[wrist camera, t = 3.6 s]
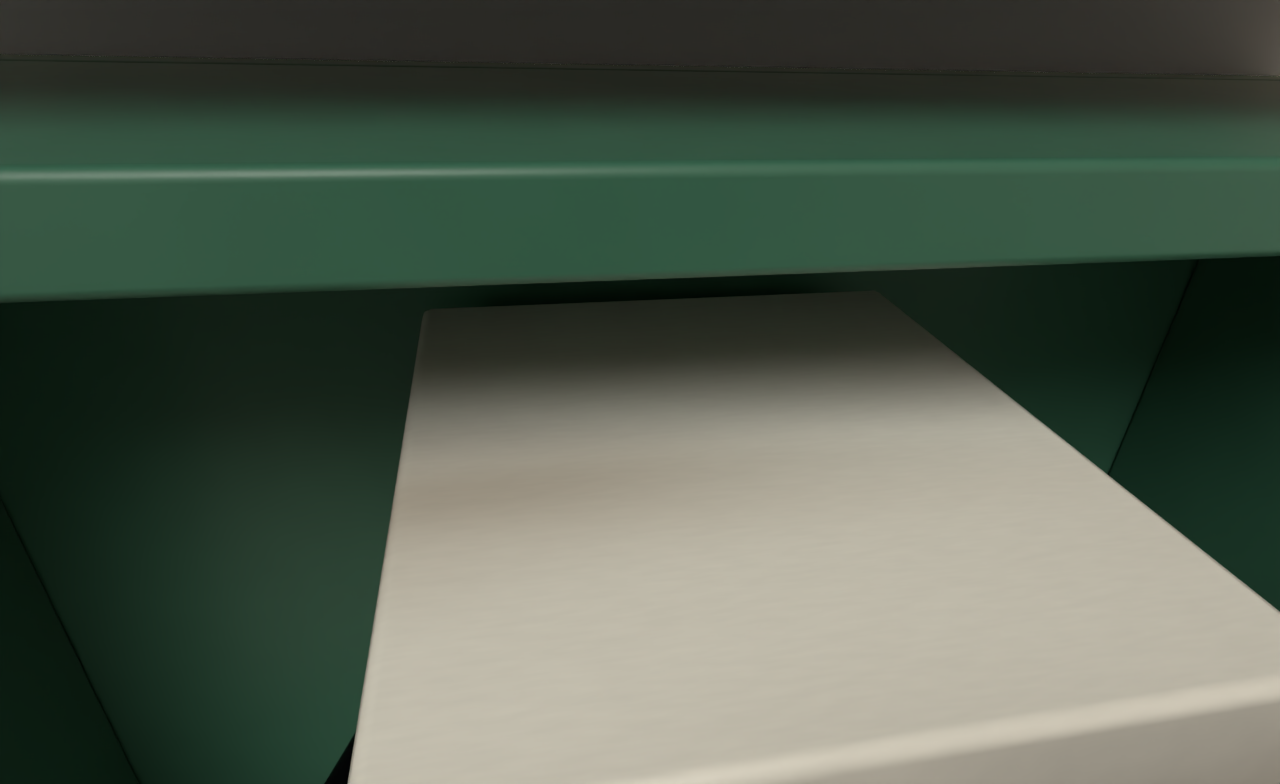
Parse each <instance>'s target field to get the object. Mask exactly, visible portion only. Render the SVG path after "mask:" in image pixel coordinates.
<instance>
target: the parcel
mask: <svg viewBox="0 0 1280 784" xmlns="http://www.w3.org/2000/svg"><path fill="white" fill-rule="evenodd" d="M347 784H1280V611H1278V610H1277V609H1276V608H1275V607H1273V606H1272V605H1271V604H1270V603H1268V602H1267V601H1266V600H1265V599H1263V598H1262V597H1261V596H1260V595H1258V594H1257V593H1256V592H1255V591H1253V590H1252V589H1251V588H1250V587H1248V586H1247V585H1246V584H1245V583H1243V582H1242V581H1241V580H1239V579H1238V578H1237V577H1236V576H1234V575H1233V574H1232V573H1231V572H1229V571H1228V570H1227V569H1226V568H1224V567H1223V566H1222V565H1221V564H1219V563H1218V562H1217V561H1216V560H1214V559H1213V558H1212V557H1211V556H1209V555H1208V554H1207V553H1206V552H1204V551H1203V550H1202V549H1201V548H1199V547H1198V546H1197V545H1195V544H1194V543H1193V542H1192V541H1190V540H1189V539H1188V538H1187V537H1185V536H1184V535H1183V534H1182V533H1180V532H1179V531H1178V530H1177V529H1175V528H1174V527H1173V526H1172V525H1170V524H1169V523H1168V522H1167V521H1165V520H1164V519H1163V518H1162V517H1160V516H1159V515H1158V514H1157V513H1155V512H1154V511H1153V510H1151V509H1150V508H1149V507H1148V506H1146V505H1145V504H1144V503H1143V502H1141V501H1140V500H1139V499H1138V498H1136V497H1135V496H1134V495H1133V494H1131V493H1130V492H1129V491H1128V490H1126V489H1125V488H1124V487H1123V486H1121V485H1120V484H1119V483H1118V482H1116V481H1115V480H1114V479H1113V478H1111V477H1110V476H1109V475H1107V474H1106V473H1105V472H1104V471H1102V470H1101V469H1100V468H1099V467H1097V466H1096V465H1095V464H1094V463H1092V462H1091V461H1090V460H1089V459H1087V458H1086V457H1085V456H1084V455H1082V454H1081V453H1080V452H1079V451H1077V450H1076V449H1075V448H1074V447H1072V446H1071V445H1070V444H1068V443H1067V442H1066V441H1065V440H1063V439H1062V438H1061V437H1060V436H1058V435H1057V434H1056V433H1055V432H1053V431H1052V430H1051V429H1050V428H1048V427H1047V426H1046V425H1045V424H1043V423H1042V422H1041V421H1040V420H1038V419H1037V418H1036V417H1035V416H1033V415H1032V414H1031V413H1030V412H1028V411H1027V410H1026V409H1024V408H1023V407H1022V406H1021V405H1019V404H1018V403H1017V402H1016V401H1014V400H1013V399H1012V398H1011V397H1009V396H1008V395H1007V394H1006V393H1004V392H1003V391H1002V390H1001V389H999V388H998V387H997V386H996V385H994V384H993V383H992V382H991V381H989V380H988V379H987V378H986V377H984V376H983V375H982V374H980V373H979V372H978V371H977V370H975V369H974V368H973V367H972V366H970V365H969V364H968V363H967V362H965V361H964V360H963V359H962V358H960V357H959V356H958V355H957V354H955V353H954V352H953V351H952V350H950V349H949V348H948V347H947V346H945V345H944V344H943V343H942V342H940V341H939V340H938V339H936V338H935V337H934V336H933V335H931V334H930V333H929V332H928V331H926V330H925V329H924V328H923V327H921V326H920V325H919V324H918V323H916V322H915V321H914V320H913V319H911V318H910V317H909V316H908V315H906V314H905V313H904V312H903V311H901V310H900V309H899V308H898V307H896V306H895V305H894V304H892V303H891V302H890V301H889V300H887V299H886V298H885V297H884V296H882V295H881V294H880V293H878V292H876V291H854V292H830V293H806V294H782V295H757V296H733V297H709V298H685V299H661V300H637V301H613V302H589V303H565V304H541V305H517V306H493V307H469V308H445V309H430V310H428V311H426V312H424V315H423V318H422V323H421V330H420V336H419V342H418V348H417V355H416V361H415V367H414V373H413V379H412V386H411V392H410V398H409V404H408V410H407V417H406V423H405V429H404V435H403V441H402V448H401V454H400V460H399V466H398V473H397V479H396V485H395V491H394V497H393V504H392V510H391V516H390V522H389V528H388V535H387V541H386V547H385V553H384V559H383V566H382V572H381V578H380V584H379V591H378V597H377V603H376V609H375V615H374V622H373V628H372V634H371V640H370V646H369V653H368V659H367V665H366V671H365V677H364V684H363V690H362V696H361V702H360V709H359V715H358V721H357V727H356V733H355V740H354V746H353V752H352V758H351V764H350V771H349V777H348V783H347Z"/></svg>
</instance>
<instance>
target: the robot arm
mask: <svg viewBox="0 0 1280 784" xmlns="http://www.w3.org/2000/svg"><path fill="white" fill-rule="evenodd" d="M355 733H356V732H355ZM355 733H354V735H353V737H352V738H351V740H350V742H349V743H348V745H347V747H346V748H345V750H344V752H343V753H342V755H341V757H340V758H339V760H338V762H337V763H336V765H335V767H334V768H333V770H332V771H331V773H330V775H329V776H328V778H327V780H326V781H325V783H324V784H347V783H348V777H349V771H350V764H351V758H352V752H353V746H354V740H355Z"/></svg>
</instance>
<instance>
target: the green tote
mask: <svg viewBox="0 0 1280 784" xmlns="http://www.w3.org/2000/svg"><path fill="white" fill-rule="evenodd" d="M854 291H876V292H878V293H880V294H881V295H882V296H884V297H885V298H886V299H887V300H889V301H890V302H891V303H892V304H894V305H895V306H896V307H898V308H899V309H900V310H901V311H903V312H904V313H905V314H906V315H908V316H909V317H910V318H911V319H913V320H914V321H915V322H916V323H918V324H919V325H920V326H921V327H923V328H924V329H925V330H926V331H928V332H929V333H930V334H931V335H933V336H934V337H935V338H936V339H938V340H939V341H940V342H942V343H943V344H944V345H945V346H947V347H948V348H949V349H950V350H952V351H953V352H954V353H955V354H957V355H958V356H959V357H960V358H962V359H963V360H964V361H965V362H967V363H968V364H969V365H970V366H972V367H973V368H974V369H975V370H977V371H978V372H979V373H980V374H982V375H983V376H984V377H986V378H987V379H988V380H989V381H991V382H992V383H993V384H994V385H996V386H997V387H998V388H999V389H1001V390H1002V391H1003V392H1004V393H1006V394H1007V395H1008V396H1009V397H1011V398H1012V399H1013V400H1014V401H1016V402H1017V403H1018V404H1019V405H1021V406H1022V407H1023V408H1024V409H1026V410H1027V411H1028V412H1030V413H1031V414H1032V415H1033V416H1035V417H1036V418H1037V419H1038V420H1040V421H1041V422H1042V423H1043V424H1045V425H1046V426H1047V427H1048V428H1050V429H1051V430H1052V431H1053V432H1055V433H1056V434H1057V435H1058V436H1060V437H1061V438H1062V439H1063V440H1065V441H1066V442H1067V443H1068V444H1070V445H1071V446H1072V447H1074V448H1075V449H1076V450H1077V451H1079V452H1080V453H1081V454H1082V455H1084V456H1085V457H1086V458H1087V459H1089V460H1090V461H1091V462H1092V463H1094V464H1095V465H1096V466H1097V467H1099V468H1100V469H1101V470H1102V471H1104V472H1105V473H1106V474H1107V475H1109V476H1110V477H1111V478H1113V479H1114V480H1115V481H1116V482H1118V483H1119V484H1120V485H1121V486H1123V487H1124V488H1125V489H1126V490H1128V491H1129V492H1130V493H1131V494H1133V495H1134V496H1135V497H1136V498H1138V499H1139V500H1140V501H1141V502H1143V503H1144V504H1145V505H1146V506H1148V507H1149V508H1150V509H1151V510H1153V511H1154V512H1155V513H1157V514H1158V515H1159V516H1160V517H1162V518H1163V519H1164V520H1165V521H1167V522H1168V523H1169V524H1170V525H1172V526H1173V527H1174V528H1175V529H1177V530H1178V531H1179V532H1180V533H1182V534H1183V535H1184V536H1185V537H1187V538H1188V539H1189V540H1190V541H1192V542H1193V543H1194V544H1195V545H1197V546H1198V547H1199V548H1201V549H1202V550H1203V551H1204V552H1206V553H1207V554H1208V555H1209V556H1211V557H1212V558H1213V559H1214V560H1216V561H1217V562H1218V563H1219V564H1221V565H1222V566H1223V567H1224V568H1226V569H1227V570H1228V571H1229V572H1231V573H1232V574H1233V575H1234V576H1236V577H1237V578H1238V579H1239V580H1241V581H1242V582H1243V583H1245V584H1246V585H1247V586H1248V587H1250V588H1251V589H1252V590H1253V591H1255V592H1256V593H1257V594H1258V595H1260V596H1261V597H1262V598H1263V599H1265V600H1266V601H1267V602H1268V603H1270V604H1271V605H1272V606H1273V607H1275V608H1276V609H1277V610H1278V611H1280V76H1254V75H1195V74H1136V73H1078V72H1019V71H960V70H902V69H843V68H784V67H726V66H667V65H608V64H550V63H491V62H432V61H374V60H315V59H256V58H198V57H139V56H80V55H22V54H0V784H324V783H325V781H326V780H327V778H328V776H329V775H330V773H331V771H332V770H333V768H334V767H335V765H336V763H337V762H338V760H339V758H340V757H341V755H342V753H343V752H344V750H345V748H346V747H347V745H348V743H349V742H350V740H351V738H352V737H353V735H354V733H355V732H356V727H357V721H358V715H359V709H360V702H361V696H362V690H363V684H364V677H365V671H366V665H367V659H368V653H369V646H370V640H371V634H372V628H373V622H374V615H375V609H376V603H377V597H378V591H379V584H380V578H381V572H382V566H383V559H384V553H385V547H386V541H387V535H388V528H389V522H390V516H391V510H392V504H393V497H394V491H395V485H396V479H397V473H398V466H399V460H400V454H401V448H402V441H403V435H404V429H405V423H406V417H407V410H408V404H409V398H410V392H411V386H412V379H413V373H414V367H415V361H416V355H417V348H418V342H419V336H420V330H421V323H422V318H423V315H424V312H426V311H428V310H430V309H445V308H469V307H493V306H517V305H541V304H565V303H589V302H613V301H637V300H661V299H685V298H709V297H733V296H757V295H782V294H806V293H830V292H854Z"/></svg>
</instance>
